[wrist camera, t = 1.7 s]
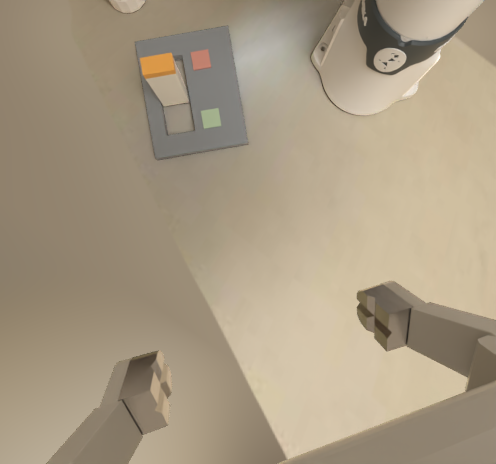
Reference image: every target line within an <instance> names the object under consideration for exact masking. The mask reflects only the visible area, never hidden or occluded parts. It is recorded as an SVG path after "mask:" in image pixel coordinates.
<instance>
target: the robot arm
mask: <svg viewBox="0 0 496 464" xmlns="http://www.w3.org/2000/svg"><path fill="white" fill-rule="evenodd" d="M483 1H484V0H344V1H343V3H342V5H341V7H340V8H339V10H338V12H337V13H336V15H335V17H334V18H333V20H332V22H331V23H330V25H329V26H328V28H327V30H326V31H325V33H324V35H323V36H322V38H321V40H320V41H319V43H318V45H317V46H316V48H315V50H314V51H313V53H312V56H311V60H312V63H313V64H314V66H315V67H316V69H317V70H318V71H319V73H320V75H321V79H322V83H323V87H324V89H325V91H326V93H327V95H328V97H329V98H330V99H331V101H332V102H333V103H334V104H335V105H336V106H338V107H339V108H340V109H342V110H344V111H346V112H348V113H351V114H355V115H372V114H376V113H378V112H381V111H383V110H385V109H386V108H388V107H389V106H390V105H392V104H393V103H395V102H396V101H400V100H404V99H408V98H410V97H412V96H413V95H414V94H415V93H416V91H417V89H418V83H419V80H420V79H421V78H422V77H423V76H424V75H425V74H426V73H427V72H428V71H429V70H430V69H431V68H432V67H433V66H434V65H435V64H436V63H437V61H438V60H439V58H440V52H441V48H442V47H444V46H445V45H446V44H447V43H448V42H449V41H450V40H451V39H452V38H453V37H454V35H455V34H456V33H457V32H458V30H459V29H460V28H461V27H462V26H463V25H464V23H465V22H466V20H467V18H468V16H469V15H470V14H471V13H472V12H473V11H474V10H475V9H476V8H477V7H478V6H479V5H480V4H481V3H482V2H483ZM321 50H324V51H321ZM357 300H358V301H359V302H360V303H359V305H358V306H357V315H358V318H359V320H360V322H361V324H362V325H363V326H364V327H365V329H366V330H368V331H371V332H373V333H374V338H375V339H376V340H377V342H378V343H379V344H380V345H381V346H382V347H383V348H384V349H385V350H386V351H390V350H393V349H397V348H400V347H403V346H407V347H409V348H411V349H413V350H415V351H417V352H419V353H421V354H423V355H425V356H427V357H428V358H430V359H432V360H434V361H436V362H438V363H440V364H442V365H444V366H446V367H448V368H450V369H452V370H454V371H456V372H458V373H460V374H462V375H464V376H466V377H468V379H467V383H466V387H465V392H464V393H461V394H459V395H456V396H454V397H451V398H448V399H446V400H443V401H440V402H438V403H435V404H433V405H430V406H427V407H425V408H422V409H419V410H417V411H414V412H412V413H409V414H406V415H404V416H401V417H398V418H396V419H393V420H391V421H388V422H385V423H383V424H380V425H377V426H375V427H372V428H369V429H367V430H364V431H362V432H359V433H356V434H354V435H351V436H348V437H346V438H343V439H341V440H338V441H335V442H333V443H330V444H327V445H325V446H322V447H320V448H317V449H314V450H312V451H309V452H307V453H304V454H301V455H299V456H296V457H293V458H291V459H288V460H286V461H283V462H281V463H278V464H496V320H494V319H490V318H486V317H483V316H479V315H475V314H471V313H468V312H464V311H460V310H457V309H453V308H449V307H446V306H442V305H438V304H435V303H431V302H429V303H425V302H424V301H422V300H421V299H420V298H418V297H417V296H415V295H414V294H412V293H411V292H409V291H408V290H406V289H405V288H403V287H402V286H400V285H399V284H397V283H396V282H394V281H388V282H385V283H382V284H380V285H376V286H373V287H369V288H366V289H363V290H360V291H358V293H357ZM171 393H172V376H171V372H170V369H169V366H168V365H166V364H164V355H163V353H162V351H155V352H151V353H147V354H144V355H140V356H136V357H133V358H130V359H127V360H123V361H119V362H118V363H117V364H116V365H115V367H114V370H113V372H112V375H111V378H110V381H109V383H108V386H107V389H106V391H105V394H104V397H103V399H102V402H101V405H100V407H99V408H96V409H94V411H92V413H91V414H90V415H89V416H88V417H87V418H86V419H85V421H84V422H83V423H82V424H81V425H80V426H79V427H78V428H77V429H76V431H75V432H74V433H73V434H72V435H71V436H70V437H69V438H68V440H67V441H66V442H65V443H64V444H63V445H62V446H61V448H59V450H58V451H57V452H56V453H55V454H54V455H53V456H52V458H51V459H50V460H49V461H48V462H47V463H46V464H128V463H129V461H130V459H131V457H132V456H133V454H134V452H135V450H136V448H137V446H138V445H139V443H140V441H141V439H142V437H143V436H142V435H144V434H147V433H149V432H152V431H155V430H158V429H160V428H163V427H166V426H168V422H169V413H170V404H169V401H168V397H169V396H170V394H171Z"/></svg>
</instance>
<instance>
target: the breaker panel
mask: <svg viewBox="0 0 496 464" xmlns="http://www.w3.org/2000/svg"><path fill="white" fill-rule="evenodd" d="M135 46H136V51H137V57H138V63H139V68H140V74H141V80H142V85H143V91H144V97H145V102H146V108H147V114H148V119H149V125H150V131H151V136H152V142H153V148H154V153H155V159H157V160H162V159H168V158H173V157H179V156H185V155H191V154H196V153H202V152H208V151H214V150H219V149H225V148H231V147H237V146H242V145H248V138H247V133H246V127H245V121H244V115H243V110H242V104H241V98H240V92H239V86H238V81H237V75H236V69H235V63H234V58H233V52H232V46H231V40H230V34H229V29H228V26H223V27H217V28H211V29H205V30H200V31H194V32H188V33H182V34H177V35H171V36H165V37H159V38H154V39H148V40H142V41H137V42H135ZM166 53H172V55H173V58H174V60H181V59H183V63H184V69H185V74H186V80H187V86H188V91H189V97H190V103H191V109H192V114H193V120H194V126H195V131H190V132H184V133H178V134H173V135H168V133H167V128H166V122H165V116H164V110H163V105H162V103H161V101H160V100H159V98H158V97H157V95H156V94H155V92H154V91H153V89H152V88H151V86H150V85H149V84H148V82H147V81H146V79H145V78H144V76H143V73H142V67H141V62H140V58H143V57H148V56H154V55H160V54H166Z"/></svg>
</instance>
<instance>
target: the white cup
mask: <svg viewBox="0 0 496 464" xmlns="http://www.w3.org/2000/svg"><path fill="white" fill-rule="evenodd" d="M109 2H110V3H111V4H112V6H113V7H114V8H115V9H116V10H118V11H120V12H122V13H133V12H135V11H137V10H139V9H140V8H141V7H142V6H143V4H144V3H145V0H109Z"/></svg>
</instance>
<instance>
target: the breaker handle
mask: <svg viewBox="0 0 496 464" xmlns="http://www.w3.org/2000/svg"><path fill="white" fill-rule="evenodd" d="M140 62H141V67H142V73H143V76H144V78H145V79H146V81H147V82H148V84H149V85H150V86H151V88H152V89H153V91H154V92H155V94H156V95H157V97H158V98H159V100H160V101H161V103H162V104H163V106H164V107H165V106H170V105H176V104H182V103H188V102H189V98H188V92H187V88H186V85H185V83H184V81H183V78H182V76H181V74H180V71H179V69H178V67H177V65H176V62H175V60H174V58H173V55H172V53H166V54H160V55H154V56H148V57H143V58H140Z"/></svg>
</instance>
